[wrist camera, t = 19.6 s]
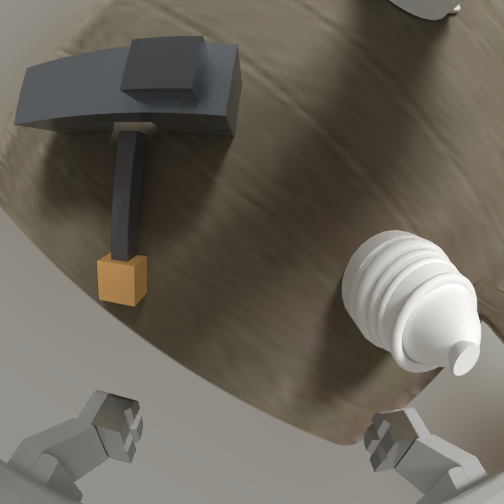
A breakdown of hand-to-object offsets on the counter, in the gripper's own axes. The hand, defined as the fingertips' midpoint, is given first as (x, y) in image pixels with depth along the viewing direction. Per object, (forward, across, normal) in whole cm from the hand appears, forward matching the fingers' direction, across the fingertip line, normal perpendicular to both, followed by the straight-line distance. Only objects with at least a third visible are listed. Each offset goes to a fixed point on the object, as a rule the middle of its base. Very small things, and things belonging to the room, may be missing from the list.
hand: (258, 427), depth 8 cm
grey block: (+24, +14, -15) cm, 31 cm away
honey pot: (+24, -17, +2) cm, 29 cm away
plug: (+24, +14, -3) cm, 28 cm away
